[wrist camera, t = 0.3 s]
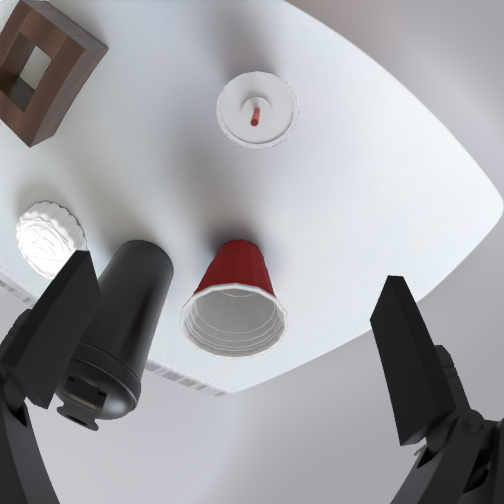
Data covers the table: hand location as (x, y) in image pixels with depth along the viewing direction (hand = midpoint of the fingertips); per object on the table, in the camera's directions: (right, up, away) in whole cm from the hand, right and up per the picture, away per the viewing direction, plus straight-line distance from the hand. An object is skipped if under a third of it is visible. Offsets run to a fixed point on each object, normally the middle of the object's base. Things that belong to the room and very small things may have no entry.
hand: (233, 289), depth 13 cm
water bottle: (-14, 0, +28) cm, 32 cm away
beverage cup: (+2, +17, +16) cm, 23 cm away
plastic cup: (0, +1, +27) cm, 27 cm away
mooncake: (-28, +4, +26) cm, 39 cm away
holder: (-24, +24, +12) cm, 36 cm away
